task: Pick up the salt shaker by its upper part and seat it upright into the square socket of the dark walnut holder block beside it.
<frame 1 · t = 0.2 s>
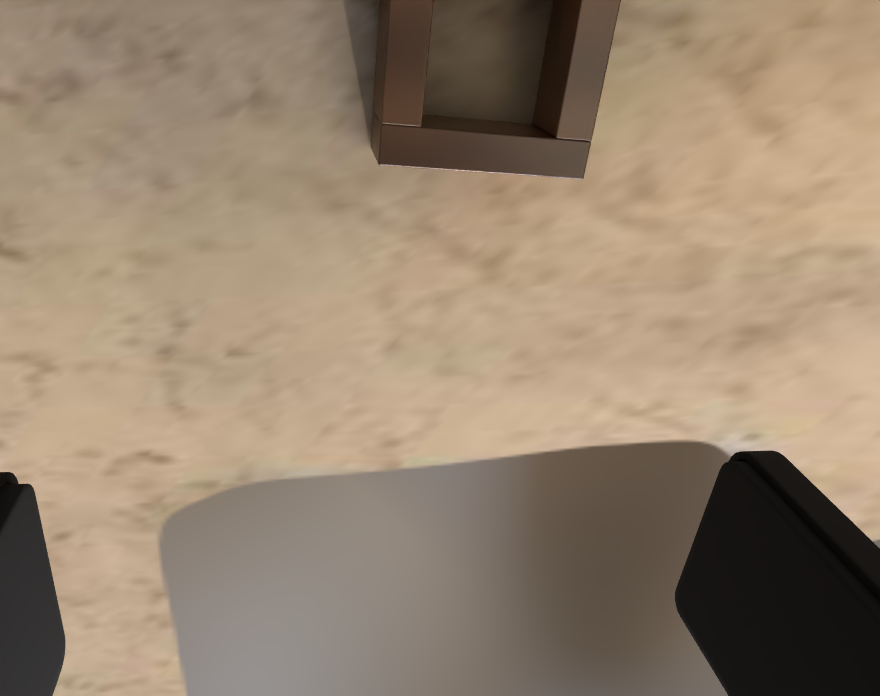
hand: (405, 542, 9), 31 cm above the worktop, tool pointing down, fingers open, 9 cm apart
holder: (480, 50, 36), on the worktop
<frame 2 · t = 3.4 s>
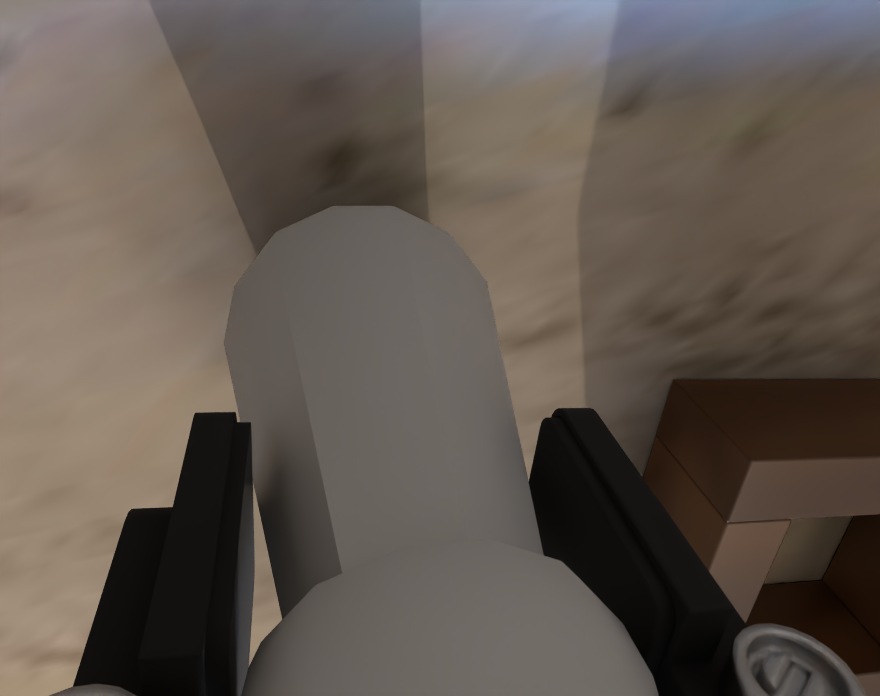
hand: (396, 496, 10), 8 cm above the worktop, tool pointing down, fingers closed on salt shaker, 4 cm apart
holder: (772, 513, 24), on the worktop
salt shaker: (355, 289, 17), on the worktop, touching gripper
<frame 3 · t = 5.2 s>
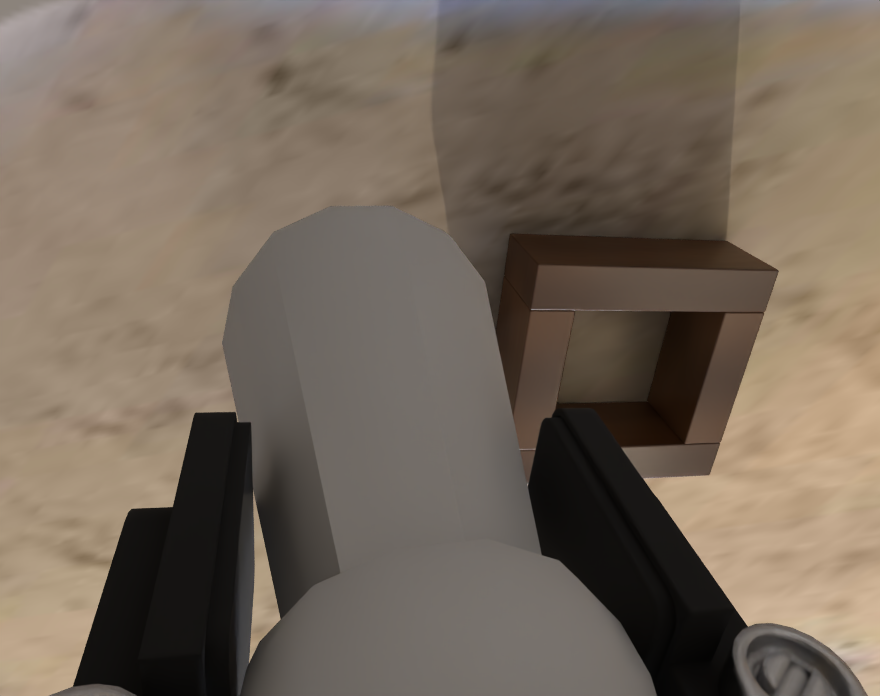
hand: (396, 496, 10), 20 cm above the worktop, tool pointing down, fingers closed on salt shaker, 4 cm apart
holder: (599, 342, 34), on the worktop
salt shaker: (353, 289, 17), point 12 cm above the worktop, touching gripper
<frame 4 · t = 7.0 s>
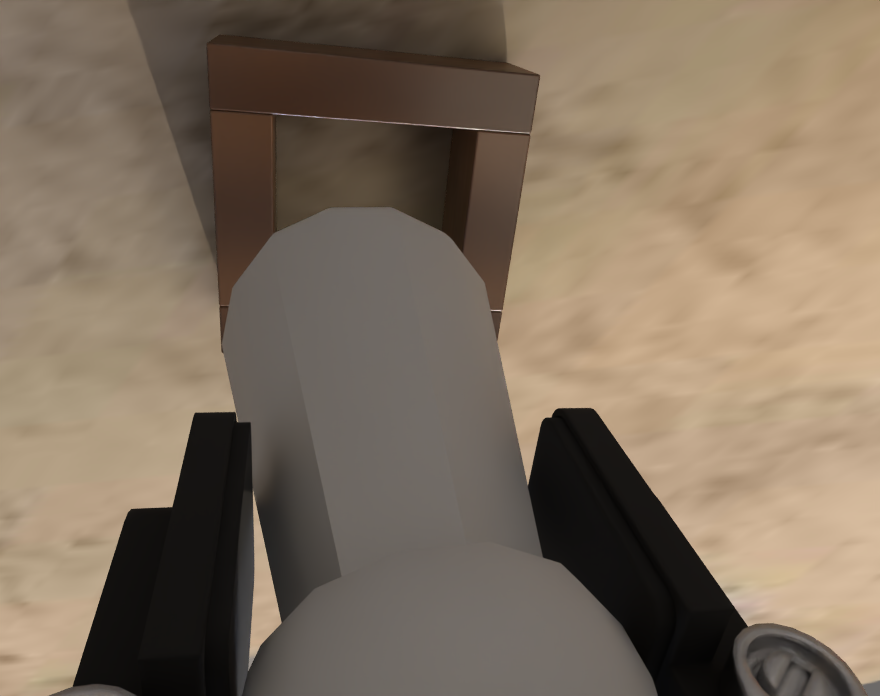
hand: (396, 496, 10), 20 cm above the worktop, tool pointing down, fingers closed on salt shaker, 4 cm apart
holder: (362, 192, 28), on the worktop
salt shaker: (353, 290, 17), point 12 cm above the worktop, touching gripper
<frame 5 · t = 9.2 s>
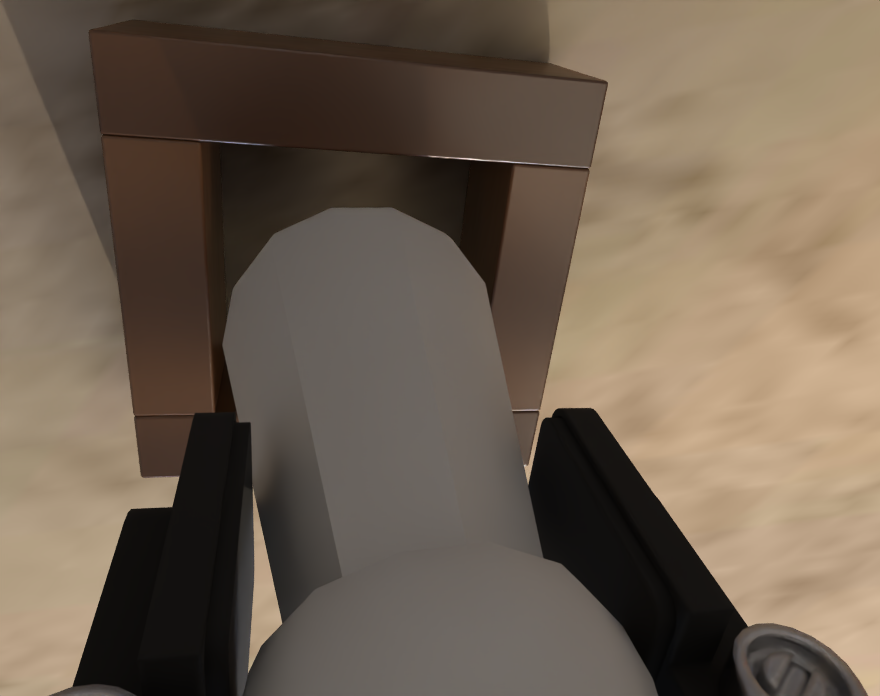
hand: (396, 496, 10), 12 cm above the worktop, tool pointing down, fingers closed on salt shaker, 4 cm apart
holder: (345, 242, 20), on the worktop
salt shaker: (353, 291, 17), point 4 cm above the worktop, touching gripper
when the fingers open (8 cm above the worktop, at t = 10.6 s): salt shaker stays where it is, resting in holder.
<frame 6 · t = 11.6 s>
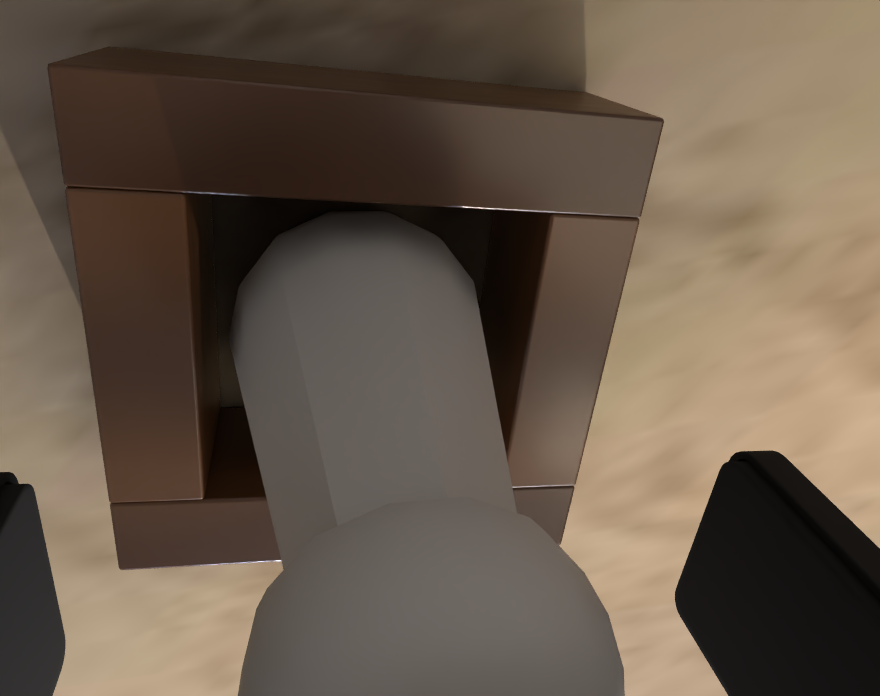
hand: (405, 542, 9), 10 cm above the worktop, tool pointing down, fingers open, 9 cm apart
holder: (353, 293, 18), on the worktop
salt shaker: (351, 290, 18), resting in holder
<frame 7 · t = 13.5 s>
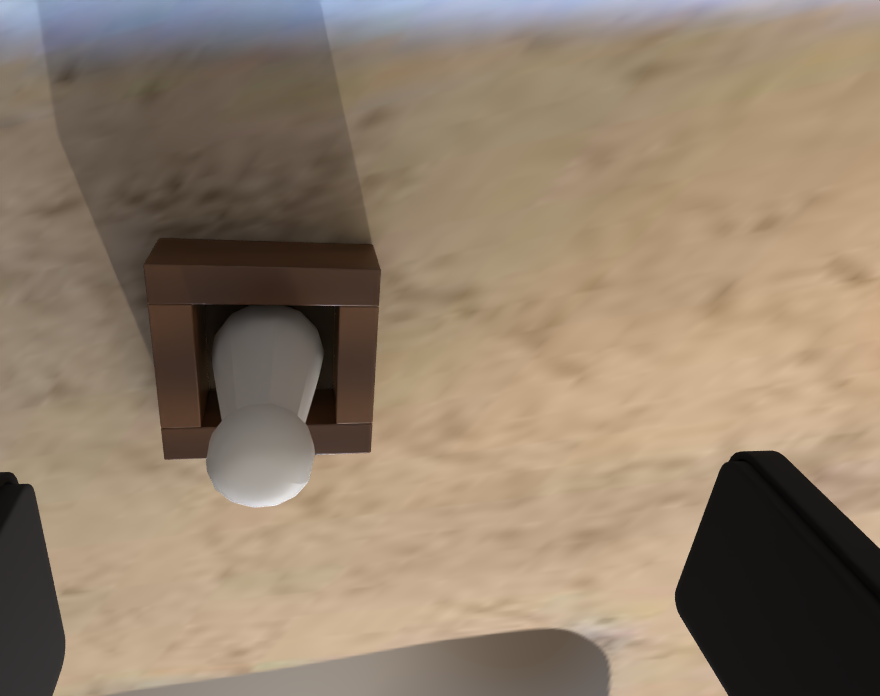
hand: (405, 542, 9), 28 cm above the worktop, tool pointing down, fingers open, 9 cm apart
holder: (271, 335, 38), on the worktop
salt shaker: (270, 333, 38), resting in holder
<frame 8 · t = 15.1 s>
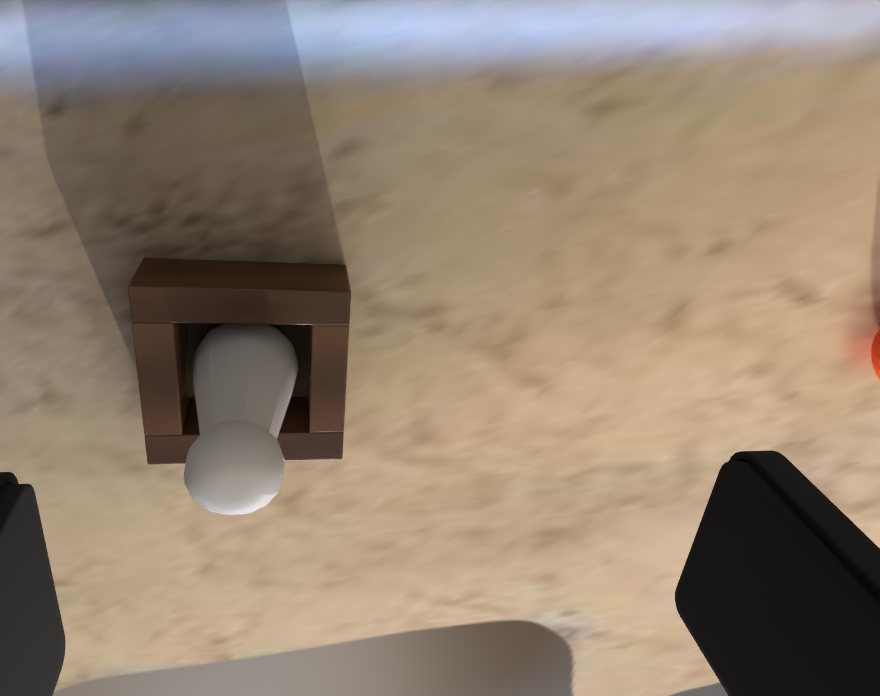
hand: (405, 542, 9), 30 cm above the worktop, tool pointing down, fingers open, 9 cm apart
holder: (249, 347, 41), on the worktop
salt shaker: (249, 346, 41), resting in holder
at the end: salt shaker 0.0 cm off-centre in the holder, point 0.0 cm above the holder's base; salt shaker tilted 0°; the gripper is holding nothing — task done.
